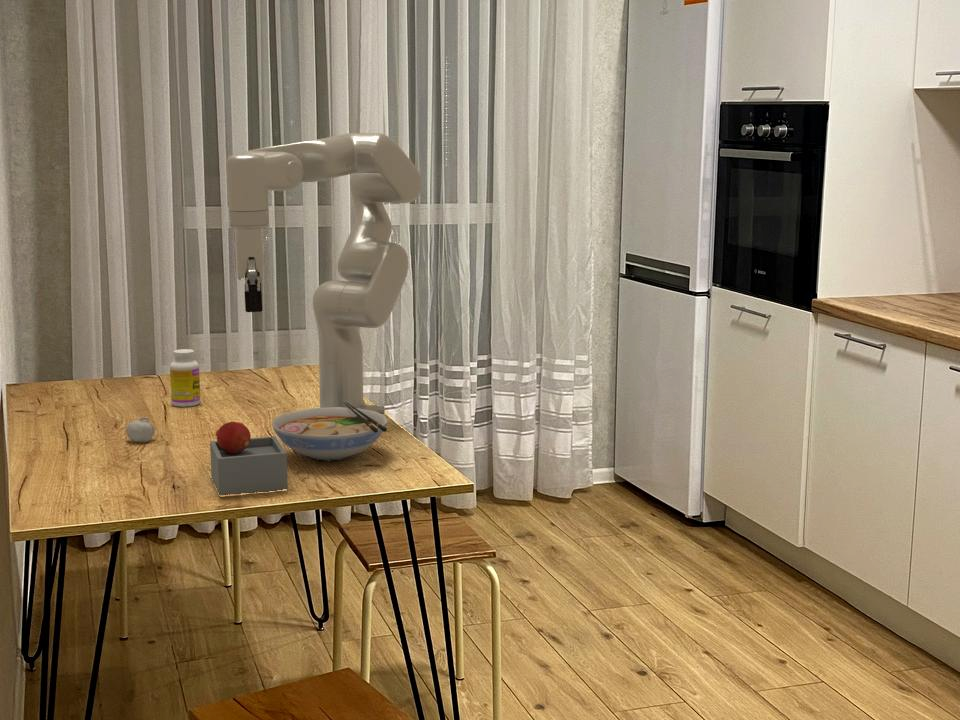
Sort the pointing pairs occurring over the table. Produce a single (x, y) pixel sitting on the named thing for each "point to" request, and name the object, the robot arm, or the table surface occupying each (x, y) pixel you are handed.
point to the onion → (233, 437)
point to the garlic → (140, 430)
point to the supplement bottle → (184, 379)
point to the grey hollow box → (250, 467)
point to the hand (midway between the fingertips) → (253, 307)
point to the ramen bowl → (330, 431)
